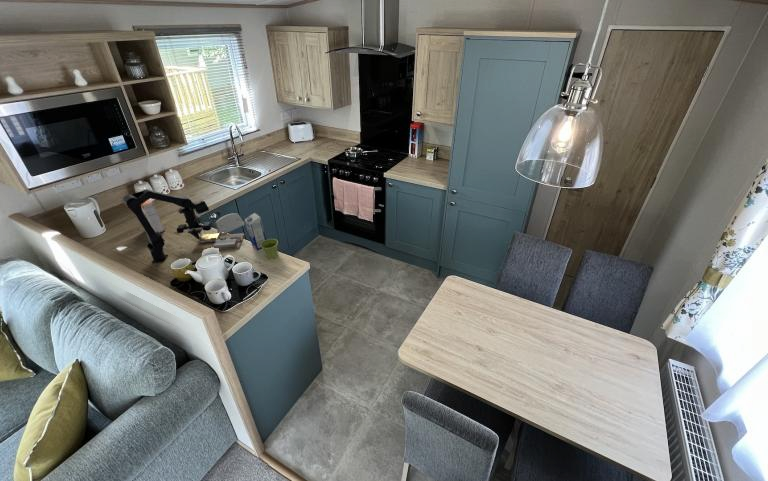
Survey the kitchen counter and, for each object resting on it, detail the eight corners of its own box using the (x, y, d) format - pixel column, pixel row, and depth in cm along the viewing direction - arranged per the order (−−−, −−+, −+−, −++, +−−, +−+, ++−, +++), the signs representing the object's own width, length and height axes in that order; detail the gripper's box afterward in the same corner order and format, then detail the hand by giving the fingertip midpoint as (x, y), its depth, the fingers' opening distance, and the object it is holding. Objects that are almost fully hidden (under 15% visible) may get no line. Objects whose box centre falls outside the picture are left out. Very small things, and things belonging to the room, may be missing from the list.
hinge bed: (238, 248, 202) (237, 243, 200) (193, 253, 199) (190, 247, 197) (244, 234, 215) (242, 229, 213) (201, 238, 213) (199, 233, 211)
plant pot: (284, 255, 195) (281, 242, 190) (269, 263, 189) (266, 250, 184) (275, 249, 200) (271, 236, 196) (260, 256, 195) (257, 244, 190)
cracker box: (147, 227, 226) (134, 199, 215) (157, 223, 230) (144, 195, 218) (155, 234, 218) (142, 205, 207) (165, 230, 222) (152, 201, 210)
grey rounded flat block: (221, 235, 215) (214, 220, 212) (218, 234, 219) (211, 220, 216) (245, 224, 226) (239, 210, 222) (242, 224, 229) (236, 210, 226)
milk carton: (267, 245, 204) (260, 216, 193) (257, 250, 200) (249, 220, 189) (262, 241, 208) (254, 212, 197) (251, 245, 204) (243, 216, 193)
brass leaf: (217, 241, 207) (216, 237, 206) (200, 242, 206) (199, 239, 205) (220, 235, 212) (219, 232, 211) (203, 237, 211) (202, 233, 210)
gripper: (211, 209, 207) (218, 230, 216) (178, 211, 205) (187, 233, 214) (205, 218, 198) (213, 240, 206) (171, 221, 196) (181, 243, 205)
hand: (199, 239), depth 208 cm, fingers closed
